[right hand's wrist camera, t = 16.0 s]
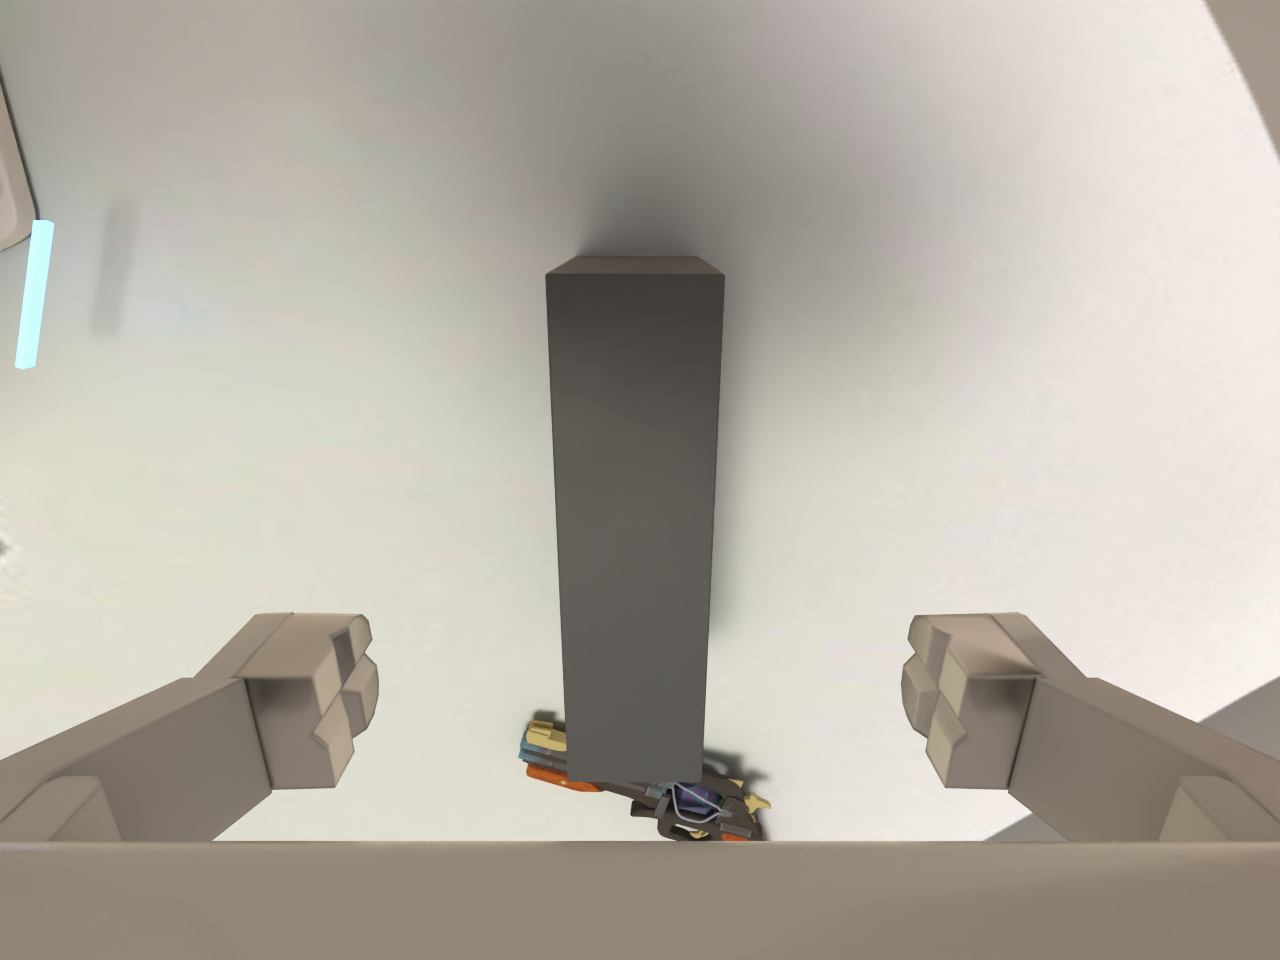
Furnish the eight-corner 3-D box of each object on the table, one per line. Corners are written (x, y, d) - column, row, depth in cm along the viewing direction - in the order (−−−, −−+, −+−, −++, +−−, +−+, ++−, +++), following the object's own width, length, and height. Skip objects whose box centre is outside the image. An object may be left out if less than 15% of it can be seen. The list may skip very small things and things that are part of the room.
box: (574, 256, 33) (545, 273, 23) (698, 256, 33) (725, 273, 23) (586, 640, 41) (567, 782, 31) (686, 640, 41) (701, 783, 31)
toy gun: (768, 914, 46) (825, 820, 41) (493, 839, 45) (521, 736, 41) (765, 875, 48) (819, 783, 44) (505, 804, 47) (532, 703, 43)
